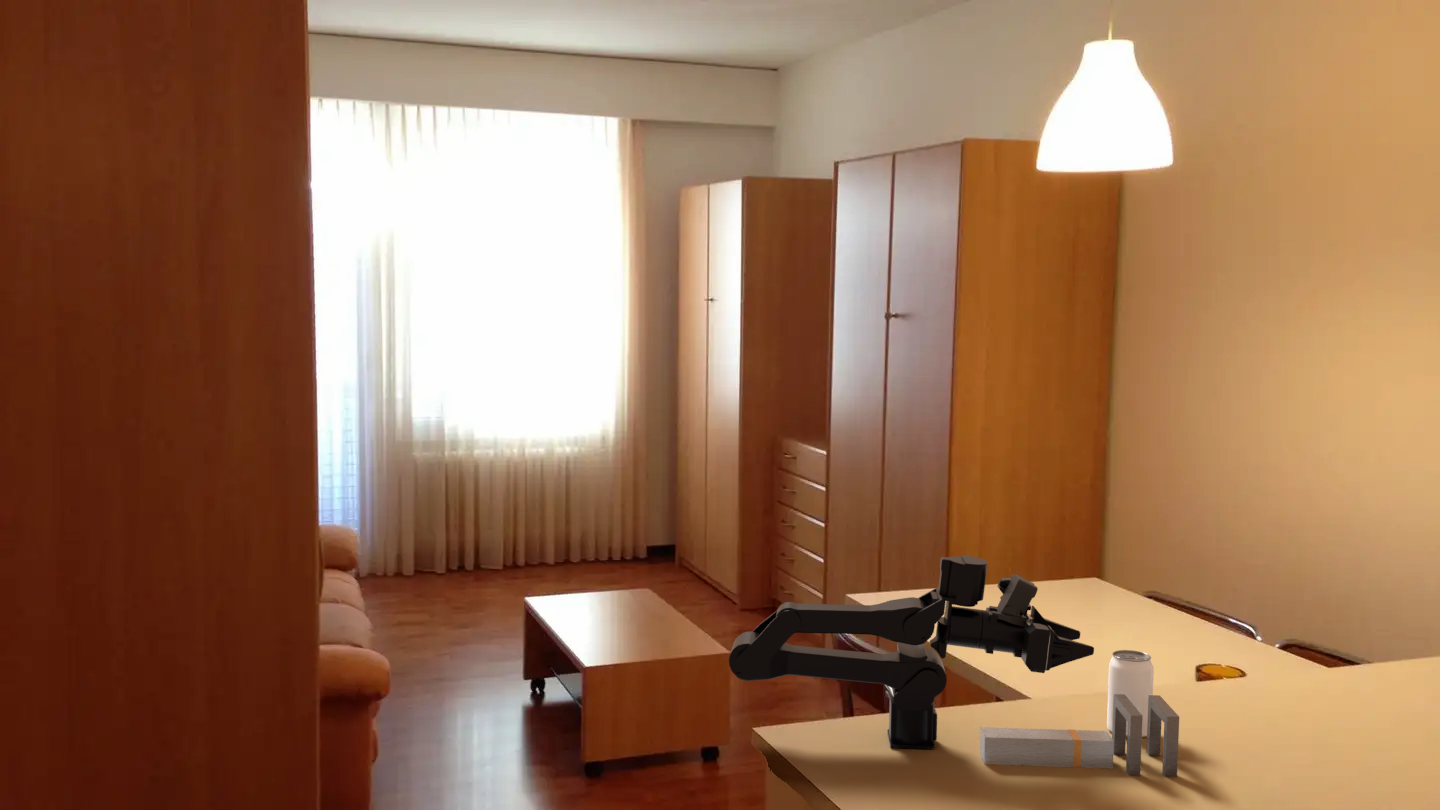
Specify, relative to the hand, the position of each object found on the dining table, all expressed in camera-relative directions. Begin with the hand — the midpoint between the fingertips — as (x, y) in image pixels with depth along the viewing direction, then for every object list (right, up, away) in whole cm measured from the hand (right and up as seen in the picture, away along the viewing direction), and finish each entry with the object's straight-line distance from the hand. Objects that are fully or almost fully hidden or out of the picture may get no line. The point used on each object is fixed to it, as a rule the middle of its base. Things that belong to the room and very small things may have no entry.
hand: (1086, 642), depth 174 cm
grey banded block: (-7, -16, -3) cm, 18 cm away
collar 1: (+4, -16, -4) cm, 17 cm away
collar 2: (+9, -16, -5) cm, 19 cm away
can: (+9, -16, +8) cm, 20 cm away
